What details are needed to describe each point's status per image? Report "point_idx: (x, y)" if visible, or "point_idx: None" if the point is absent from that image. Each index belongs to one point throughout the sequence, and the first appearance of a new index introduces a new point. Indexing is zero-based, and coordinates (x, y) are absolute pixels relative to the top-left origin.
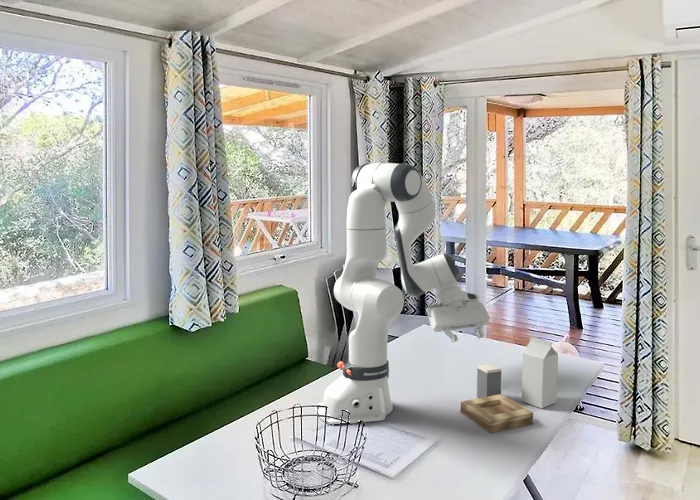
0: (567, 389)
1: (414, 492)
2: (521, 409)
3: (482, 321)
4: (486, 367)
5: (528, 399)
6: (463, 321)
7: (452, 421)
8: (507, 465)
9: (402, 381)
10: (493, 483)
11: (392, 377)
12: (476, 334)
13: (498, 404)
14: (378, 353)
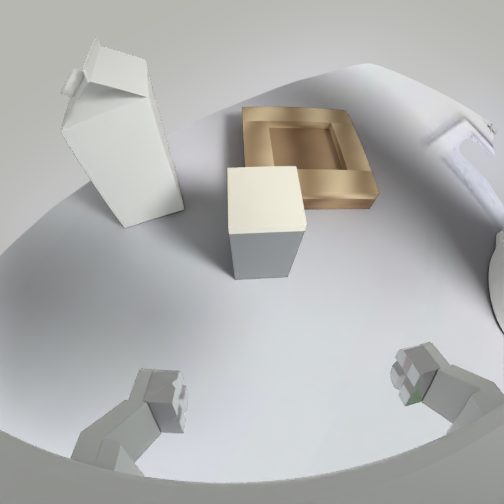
0: (45, 237)
1: (444, 96)
2: (256, 120)
3: (51, 452)
4: (280, 193)
5: (178, 185)
6: (352, 493)
7: (395, 182)
8: (347, 78)
9: None
10: (373, 71)
11: None
12: (183, 419)
13: None
14: None
